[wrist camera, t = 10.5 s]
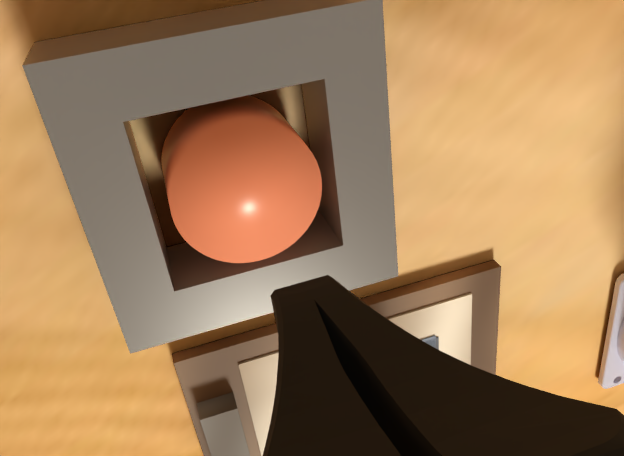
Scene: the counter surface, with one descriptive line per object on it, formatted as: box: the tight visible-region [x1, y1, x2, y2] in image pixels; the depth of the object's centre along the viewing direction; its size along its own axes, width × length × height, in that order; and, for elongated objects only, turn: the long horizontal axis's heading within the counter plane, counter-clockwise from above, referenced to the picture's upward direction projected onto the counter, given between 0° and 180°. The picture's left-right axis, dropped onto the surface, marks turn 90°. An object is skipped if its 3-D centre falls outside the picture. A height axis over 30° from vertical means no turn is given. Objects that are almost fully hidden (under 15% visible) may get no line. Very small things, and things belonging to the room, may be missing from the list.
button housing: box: [22, 0, 398, 353], centre depth 20 cm, size 10×10×3 cm
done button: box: [161, 96, 322, 263], centre depth 20 cm, size 5×5×3 cm
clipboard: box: [172, 260, 501, 456], centre depth 29 cm, size 15×13×2 cm
